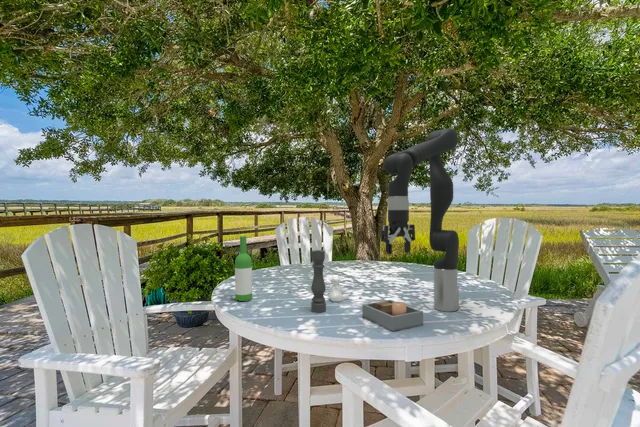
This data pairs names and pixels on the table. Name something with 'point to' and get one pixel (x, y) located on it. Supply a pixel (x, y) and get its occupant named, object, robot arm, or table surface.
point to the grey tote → (393, 317)
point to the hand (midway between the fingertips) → (398, 253)
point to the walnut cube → (384, 307)
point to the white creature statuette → (336, 290)
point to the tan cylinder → (398, 308)
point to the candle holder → (318, 282)
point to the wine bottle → (243, 273)
